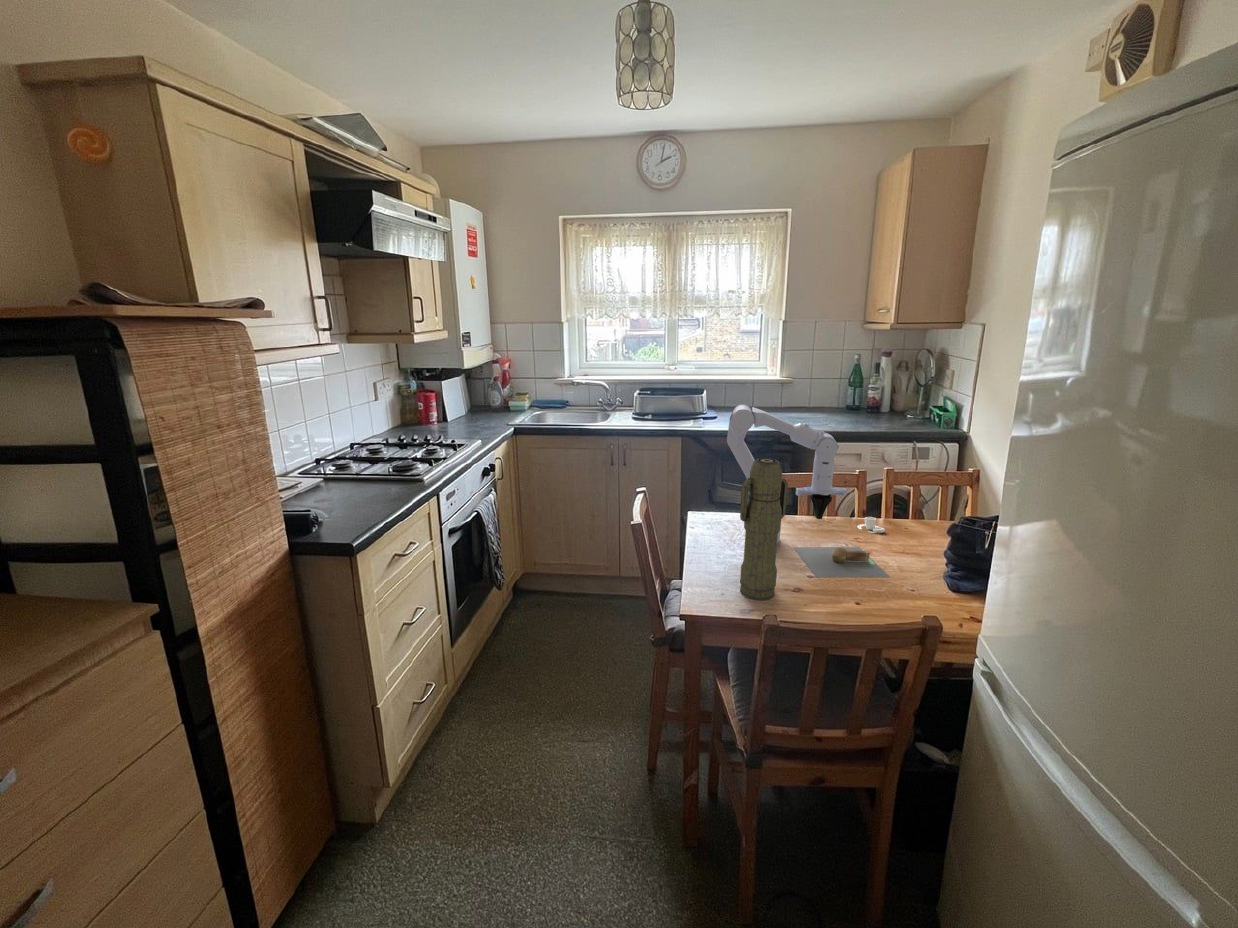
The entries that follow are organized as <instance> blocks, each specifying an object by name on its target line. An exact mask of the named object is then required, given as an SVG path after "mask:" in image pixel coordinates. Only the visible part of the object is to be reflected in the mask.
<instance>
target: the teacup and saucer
mask: <svg viewBox="0 0 1238 928" xmlns="http://www.w3.org/2000/svg"><path fill="white" fill-rule="evenodd" d="M863 519H864V520H863V521H864V523H861V524H857V529H858V530H863V528H862V527H865V528H866V529H867V530H868V531H867V532H868V533H870V534H882V533H885V532H886V529H885V528H884V527H880V526H878V525H876V523H877V517H874V516H866V517H865V516H864V518H863Z"/></svg>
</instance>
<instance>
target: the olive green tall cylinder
mask: <svg viewBox="0 0 1238 928" xmlns="http://www.w3.org/2000/svg"><path fill="white" fill-rule="evenodd" d="M788 484H789V483H788V482H787V480H786V479H785V478H784V477H783V472H782V467H781V464H780V461H778V460H777V459H775V458H771V457H760V458H758V457H757V459H754V462H753V464H752V467H751V470H750V478H748V479H747V478H746V479H745V480H744V481H743V483H742V484H741V493H740V496H741V497H740V508H739V511H740V512H739V515H740V516H739V517H740V519H739V520H740V521H741V522H743V528H744V531H745V532H744V533H745V534H744V549H743V561H742V563H741V565H740V574H739V575H740V576H739V577H740V578H739V579H740V580H739V583H740V587H739V589H740V590H739V592H740V593H741V595H742V596H744V597H745V598H748V599H751V600H754V601H767V600H771V599H773V598H774V596H775V588H776V586H777V577H778V568H777V565H776V563H777V562H776V559H777V551H778V550H777V547H778V543H777V538H778V532H779V531H780V525H781V526H782V519H783V518H784V517H785V516H786V515H787V514H786V513H787V511H786V510H787V502H788V500H787V498H788V488H789V485H788ZM781 518H782V519H781ZM780 532H781V531H780Z"/></svg>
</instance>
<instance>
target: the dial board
mask: <svg viewBox="0 0 1238 928" xmlns="http://www.w3.org/2000/svg"><path fill="white" fill-rule="evenodd" d="M835 547H836V546H793V547H792V548H793V550H794V551H795V553H797V556H799V557H800V559H801V560H802V561H803V563H804V564H805V565H806V567H807V568H808V569H809V571H810V572H811V573H812V574H813V575H814V577H815V578H890V577H891V576H890V575H889V574H888V573H887V572H886V571H884V569H883V568H882V567H881V566H880V565H878V564H877V563H876V562H875V561H874V560H873V559H872V558H871V557H870V556H869V562H866V561H845V562H836V561H834V560H833V559H832V556H833V548H835ZM840 547H841V548H844V549H846V550H848V551H864V550H863V549H862V548H861V547H859V546H840Z"/></svg>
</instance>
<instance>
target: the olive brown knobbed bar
mask: <svg viewBox="0 0 1238 928" xmlns="http://www.w3.org/2000/svg"><path fill="white" fill-rule="evenodd" d="M834 547H835V548H833V556H832V559H833V560H834V561H836V562H845V561H866V562H869V557H870V556H871V555H870V554H871V553H870V551H869V550H863V551H848V550H846V549H844V548H841V547H842V546H834Z"/></svg>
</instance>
